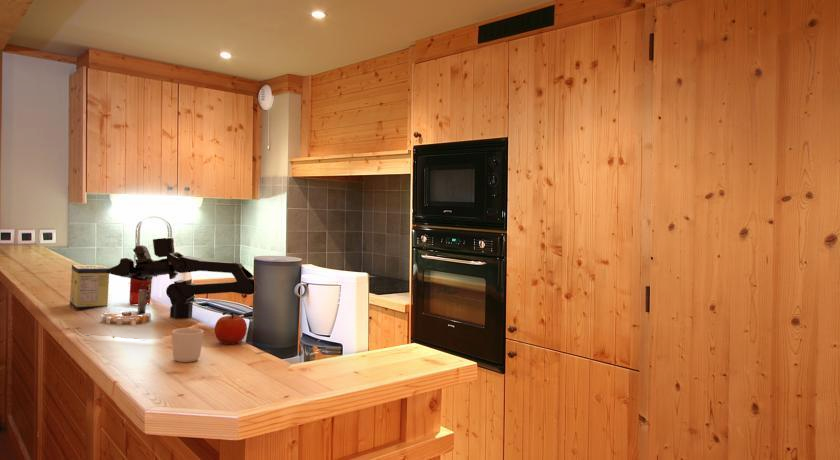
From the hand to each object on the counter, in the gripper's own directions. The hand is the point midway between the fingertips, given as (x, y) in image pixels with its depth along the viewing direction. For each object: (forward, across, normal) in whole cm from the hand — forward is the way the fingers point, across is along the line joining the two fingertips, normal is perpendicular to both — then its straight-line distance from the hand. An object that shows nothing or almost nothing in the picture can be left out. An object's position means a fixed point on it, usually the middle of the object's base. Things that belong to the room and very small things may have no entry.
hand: (113, 272), depth 207 cm
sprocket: (-8, +8, +18) cm, 22 cm away
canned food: (+5, -31, +9) cm, 33 cm away
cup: (-43, +46, +34) cm, 72 cm away
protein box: (+18, -17, +9) cm, 27 cm away
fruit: (-48, +25, +31) cm, 62 cm away
